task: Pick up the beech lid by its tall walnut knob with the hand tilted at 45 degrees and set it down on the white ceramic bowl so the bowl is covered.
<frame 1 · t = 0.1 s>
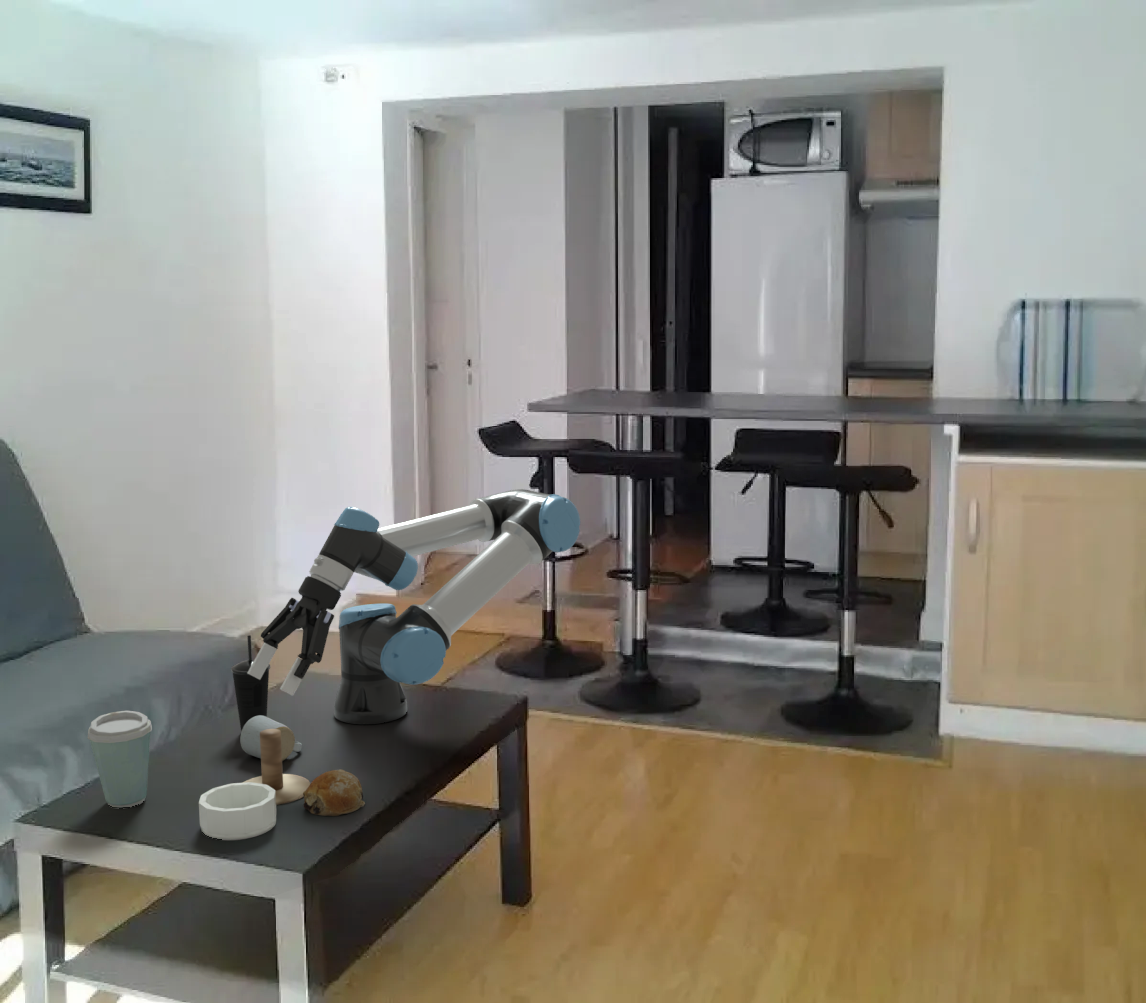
hand: (269, 684, 236), 15 cm above the table, tool tilted 35°, fingers open, 13 cm apart
lid: (273, 791, 225), on the table
disposable coffee cup: (124, 803, 220), on the table
bread roll: (334, 808, 218), on the table
ceramic mug: (274, 757, 242), on the table
drinking cup: (253, 733, 255), on the table
bowl: (239, 825, 210), on the table
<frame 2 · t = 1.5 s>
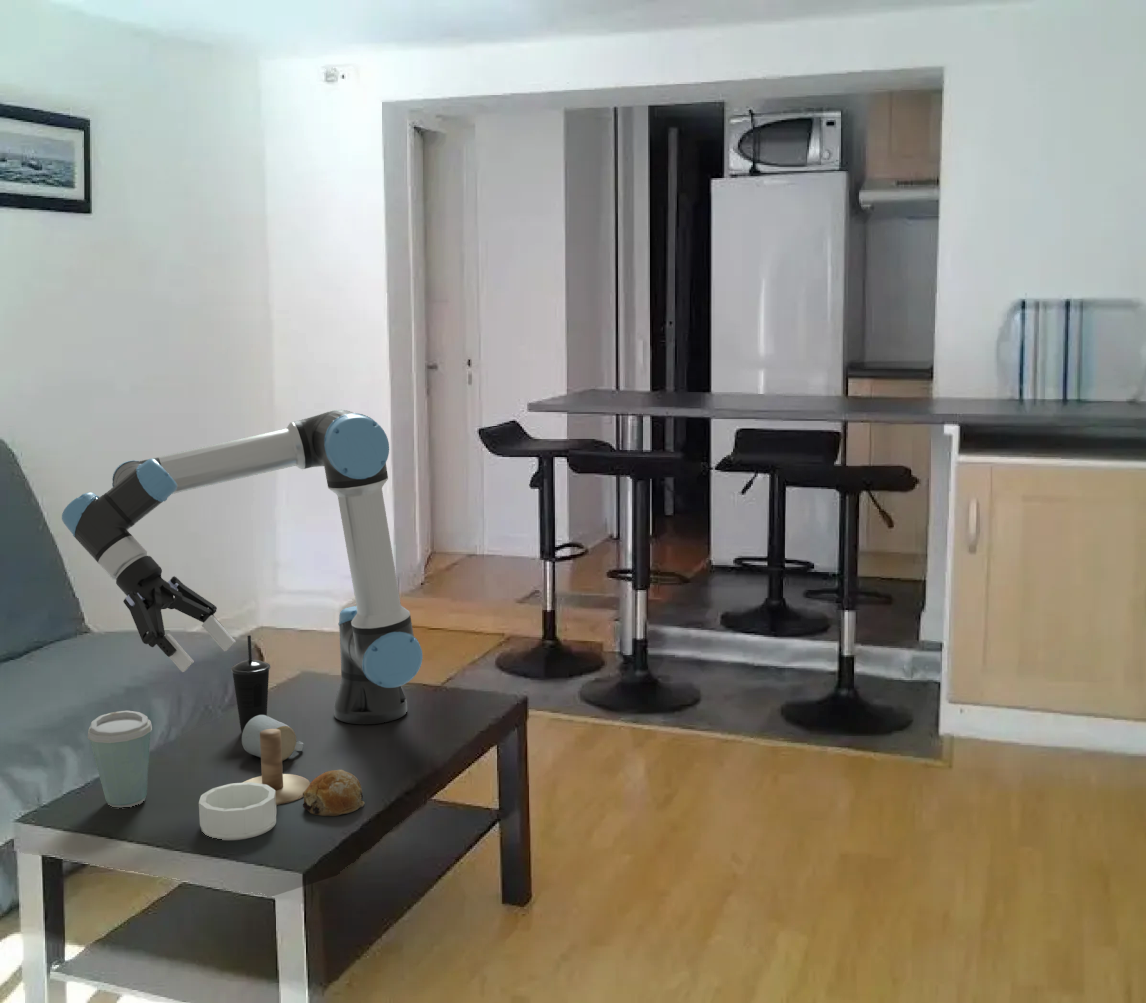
hand: (210, 656, 224), 24 cm above the table, tool tilted 45°, fingers open, 13 cm apart
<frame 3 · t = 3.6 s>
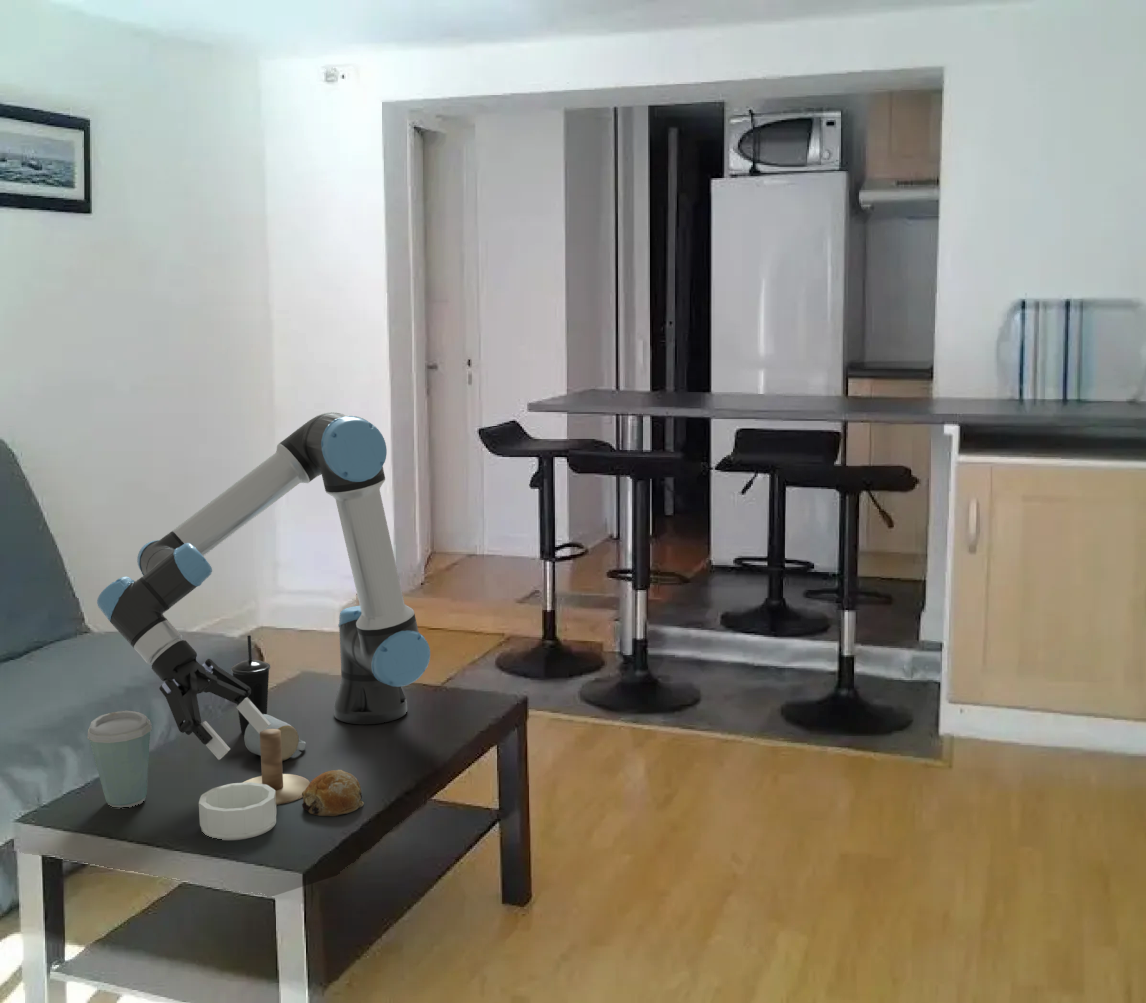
hand: (245, 741, 224), 9 cm above the table, tool tilted 45°, fingers open, 13 cm apart
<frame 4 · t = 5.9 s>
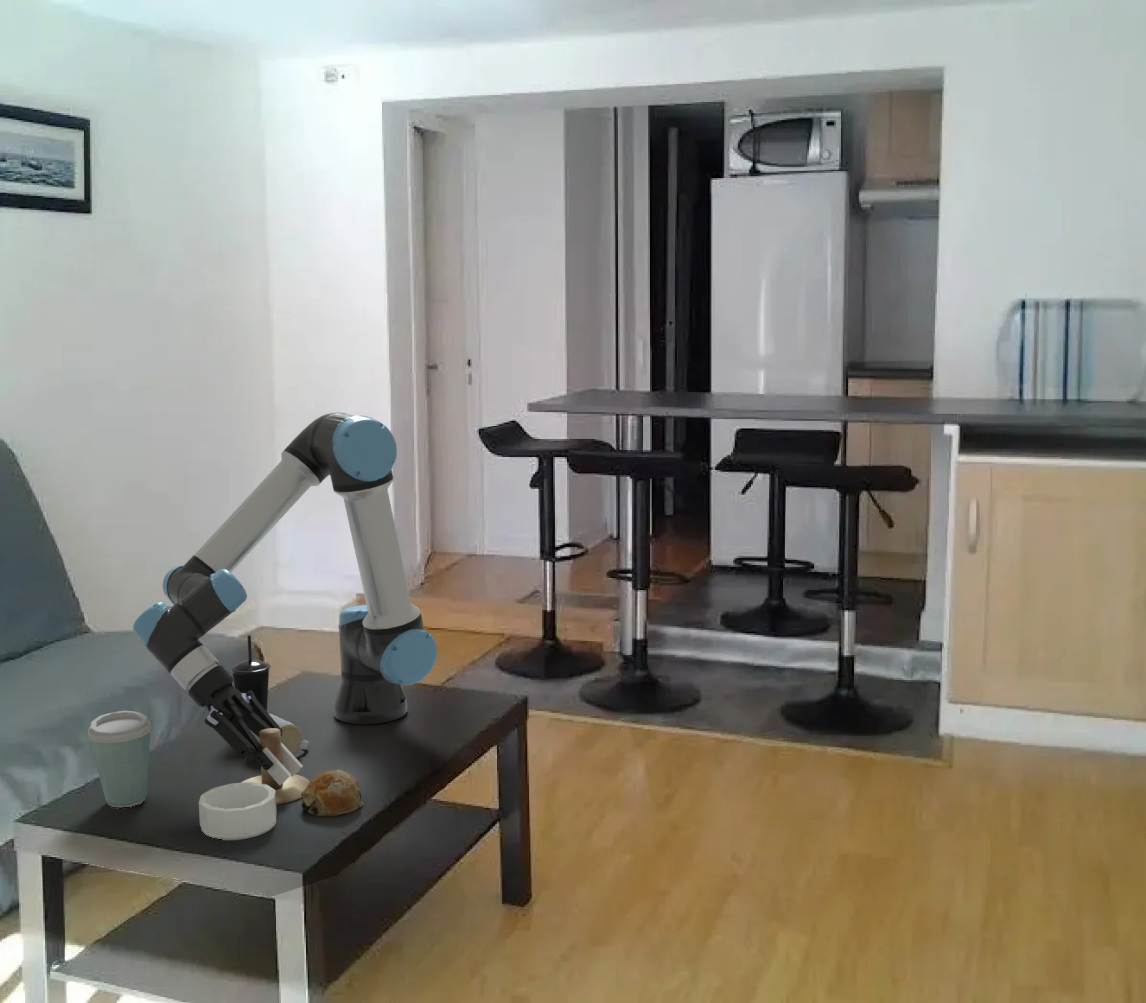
hand: (291, 775, 223), 3 cm above the table, tool tilted 45°, fingers closed on lid, 4 cm apart
lid: (272, 791, 225), on the table, touching gripper
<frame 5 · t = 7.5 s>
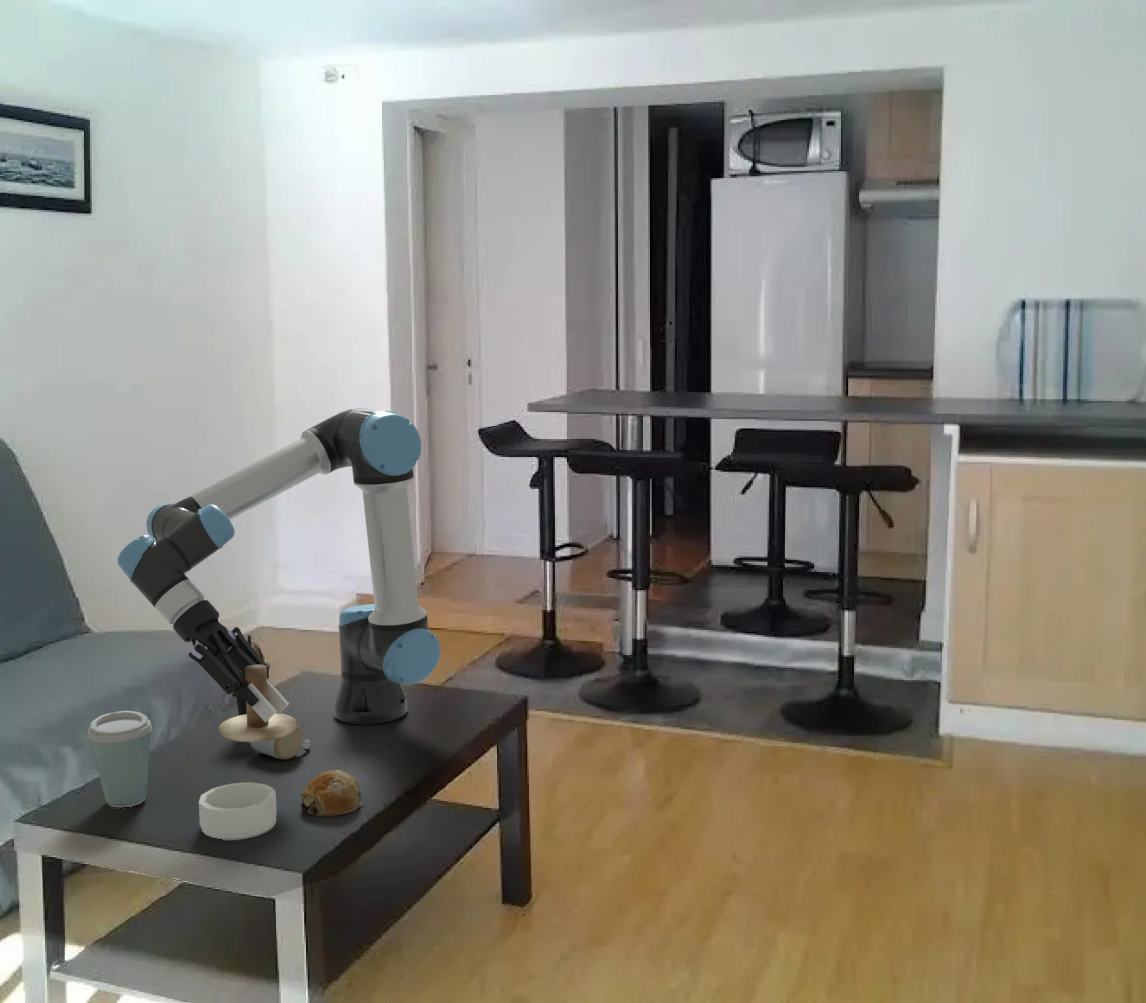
hand: (277, 712, 218), 16 cm above the table, tool tilted 45°, fingers closed on lid, 4 cm apart
lid: (258, 729, 220), point 13 cm above the table, touching gripper
when the fingers open (10 cm above the table, at t = 9.5 s): lid drops 1 cm, resting on bowl.
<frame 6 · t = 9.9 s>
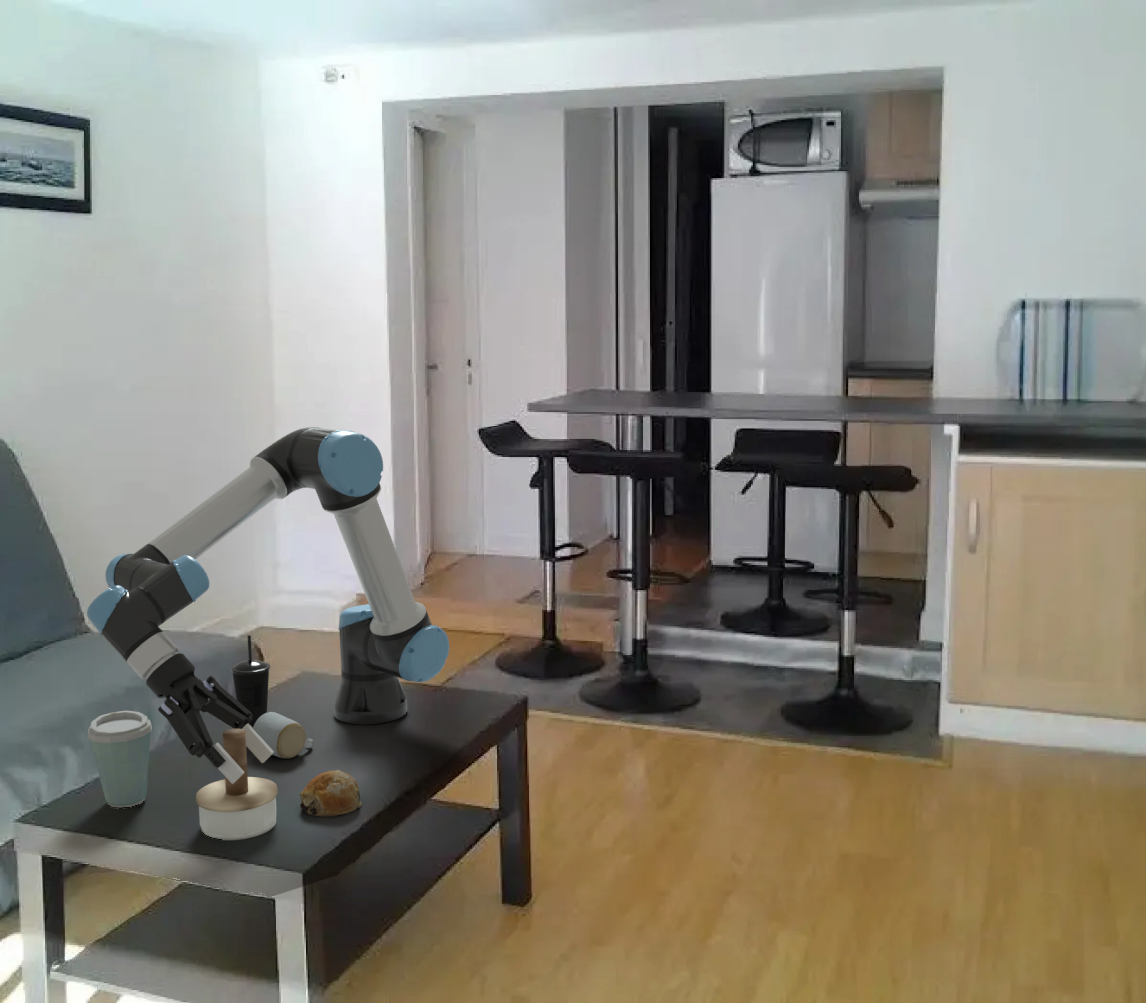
hand: (253, 767, 208), 10 cm above the table, tool tilted 45°, fingers open, 9 cm apart
lid: (237, 796, 209), point 5 cm above the table, touching bowl
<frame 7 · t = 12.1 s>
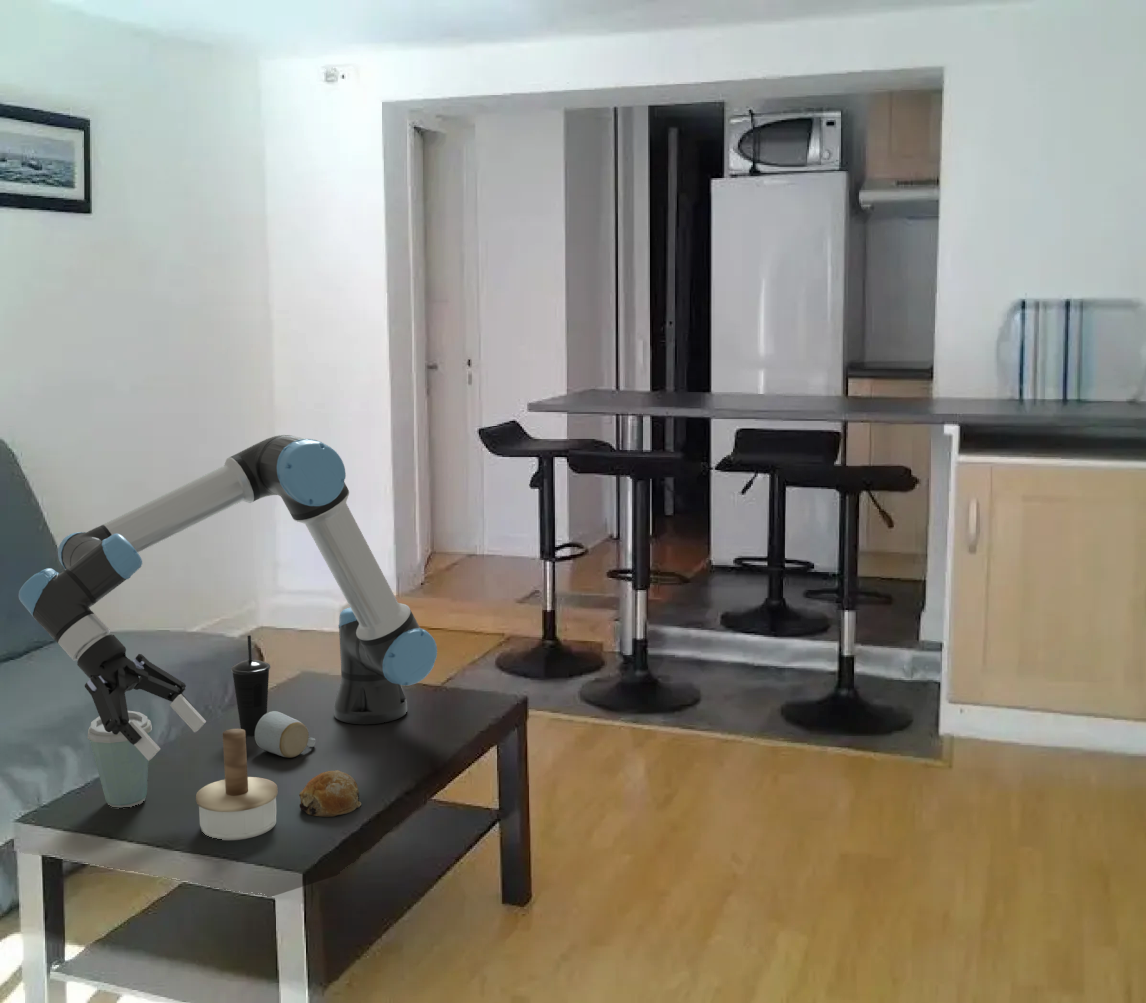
hand: (178, 740, 211), 13 cm above the table, tool tilted 45°, fingers open, 13 cm apart
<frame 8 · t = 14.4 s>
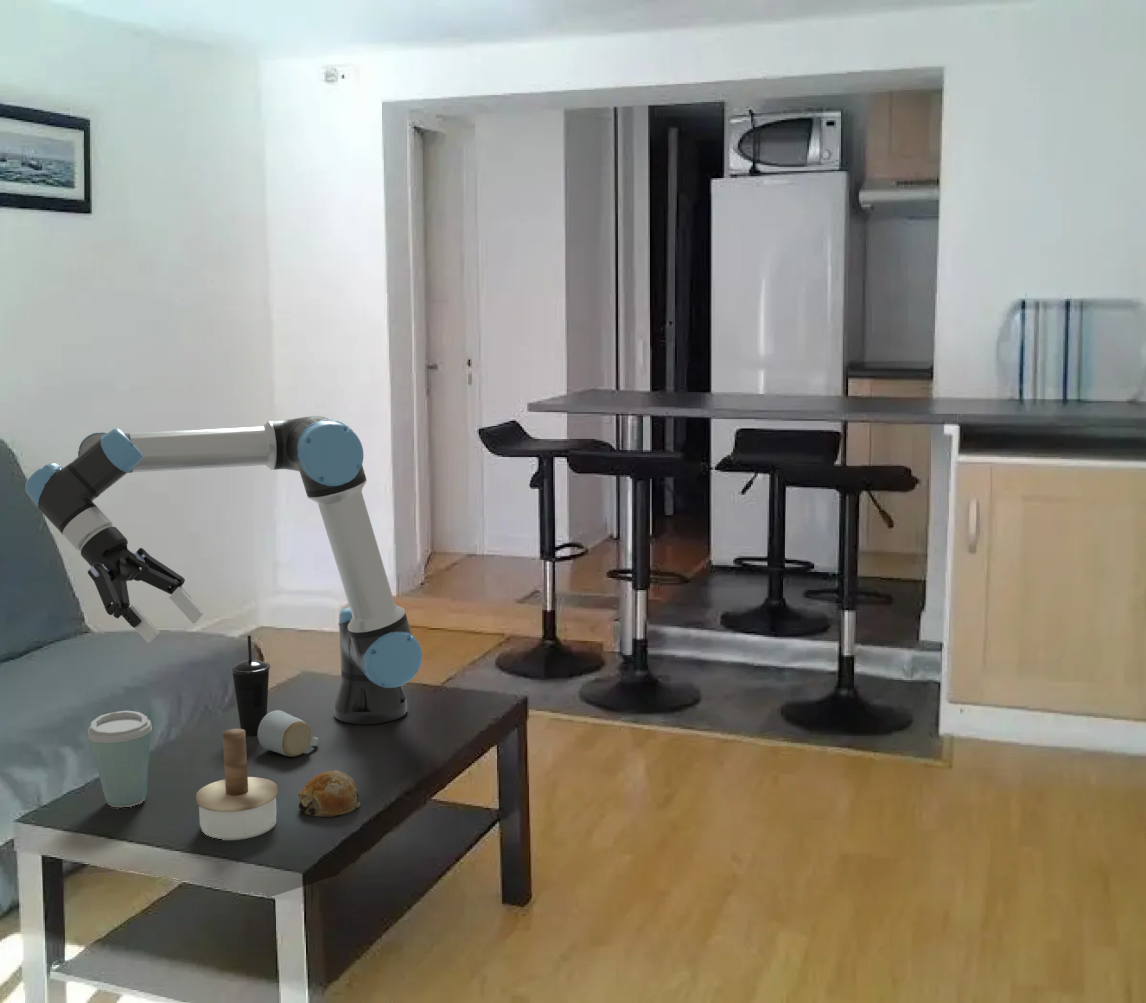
hand: (177, 628, 220), 30 cm above the table, tool tilted 45°, fingers open, 13 cm apart
at the end: lid 0.1 cm off-centre on the bowl, point 5.0 cm above the bowl's base; lid tilted 0°; the gripper is holding nothing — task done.
